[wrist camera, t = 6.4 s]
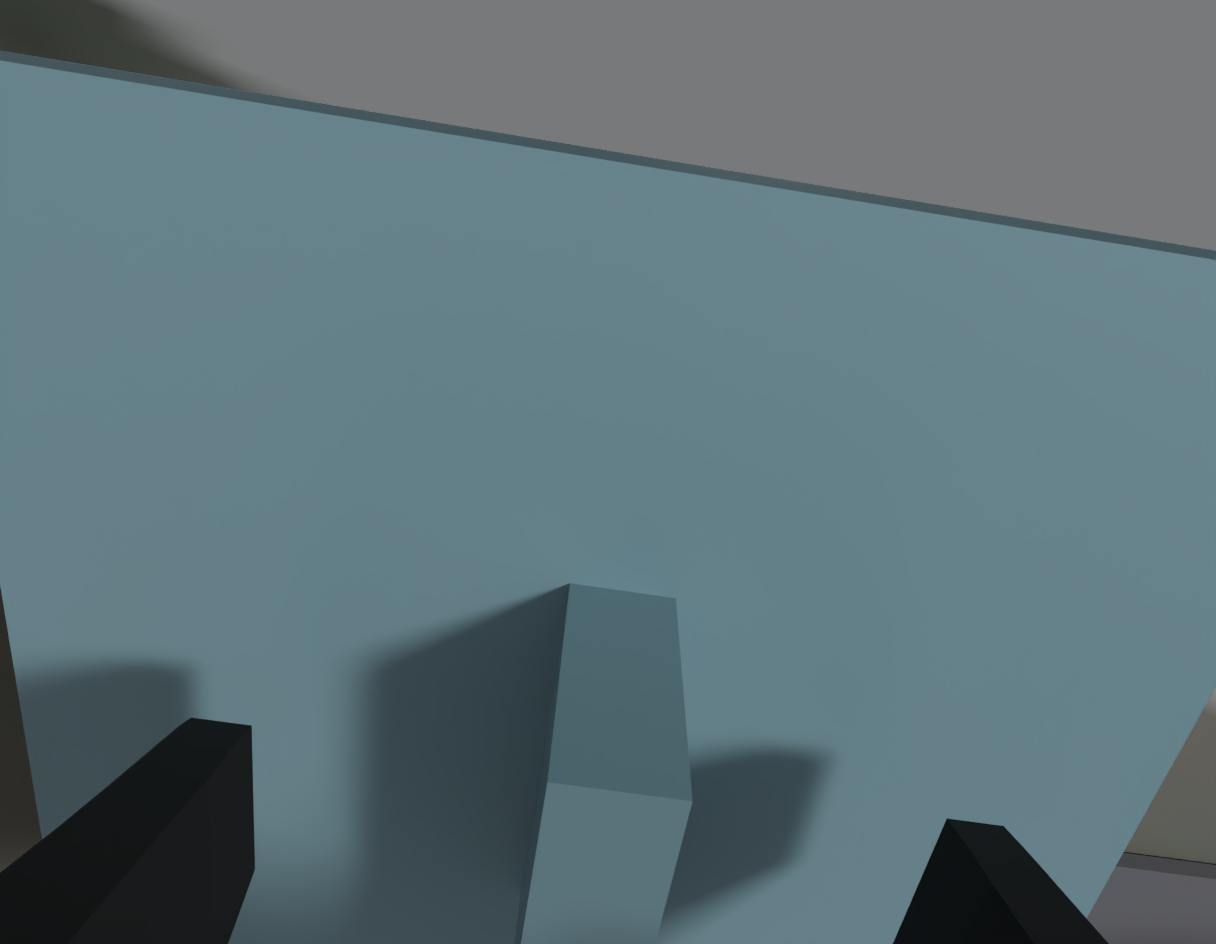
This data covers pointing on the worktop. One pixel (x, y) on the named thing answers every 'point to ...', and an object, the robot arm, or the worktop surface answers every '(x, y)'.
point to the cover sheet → (587, 516)
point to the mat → (1157, 902)
